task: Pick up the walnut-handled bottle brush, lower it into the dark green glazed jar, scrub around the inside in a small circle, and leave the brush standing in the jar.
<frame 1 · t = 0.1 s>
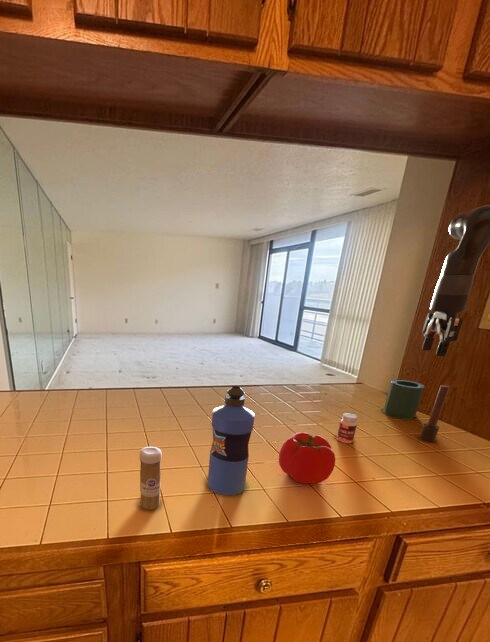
hand: (432, 352, 99), 28 cm above the worktop, tool pointing down, fingers open, 8 cm apart
jar: (398, 414, 131), on the worktop
tomato: (302, 476, 89), on the worktop
sprinkles bottle: (150, 504, 77), on the worktop
brush: (426, 440, 110), on the worktop
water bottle: (225, 485, 85), on the worktop
pill bottle: (344, 440, 109), on the worktop
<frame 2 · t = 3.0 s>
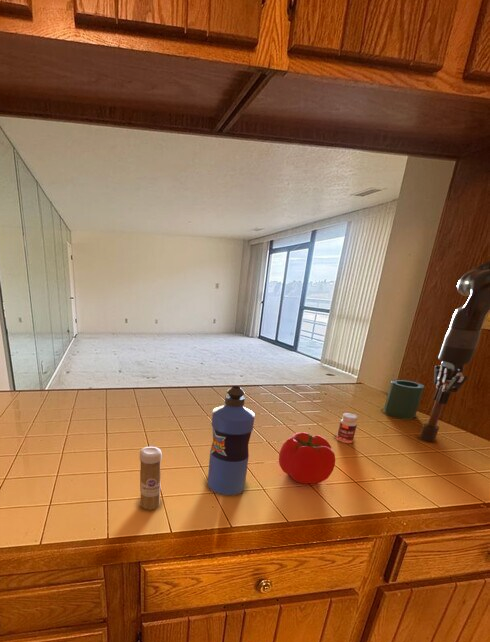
hand: (439, 401, 105), 13 cm above the worktop, tool pointing down, fingers closed on brush, 2 cm apart
brush: (426, 440, 110), on the worktop, touching gripper
everything else where it was.
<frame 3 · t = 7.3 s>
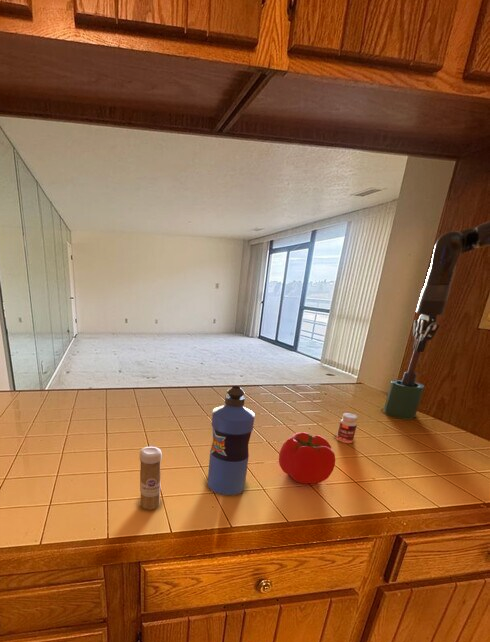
hand: (417, 350, 122), 24 cm above the worktop, tool pointing down, fingers closed on brush
brush: (407, 386, 127), point 11 cm above the worktop, touching gripper
everything else where it was.
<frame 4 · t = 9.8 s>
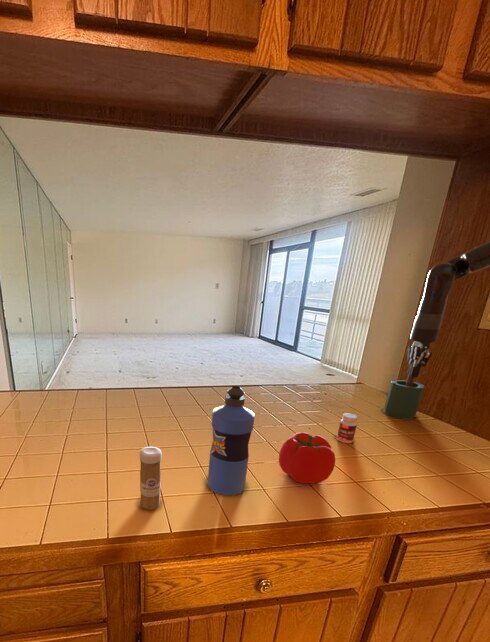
hand: (412, 375, 124), 15 cm above the worktop, tool pointing down, fingers closed on brush, 2 cm apart
brush: (401, 409, 129), point 2 cm above the worktop, touching gripper
everything else where it was.
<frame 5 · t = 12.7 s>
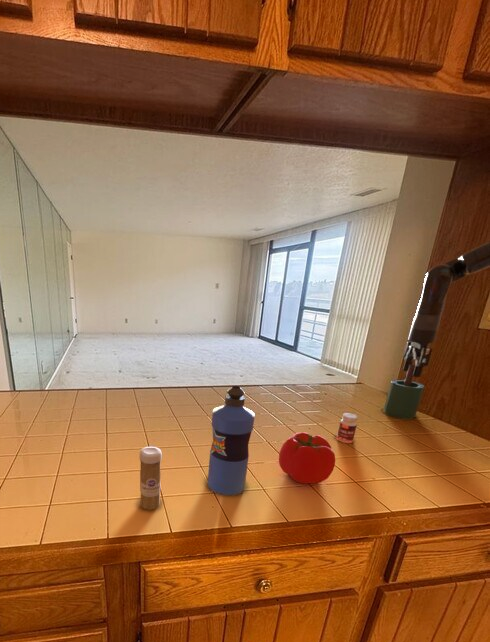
hand: (410, 373, 125), 16 cm above the worktop, tool pointing down, fingers open, 8 cm apart
brush: (399, 411, 131), point 1 cm above the worktop, touching jar
everything else where it was.
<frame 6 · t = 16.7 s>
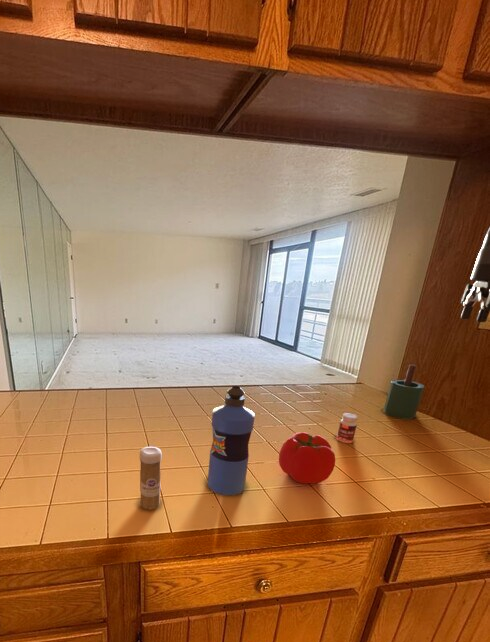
hand: (472, 320, 107), 36 cm above the worktop, tool pointing down, fingers open, 8 cm apart
nothing on the worktop moved.
at the end: brush 0.1 cm off-centre in the jar, point 1.0 cm above the jar's base; brush moved 23.0 cm from its start; the gripper is holding nothing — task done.
